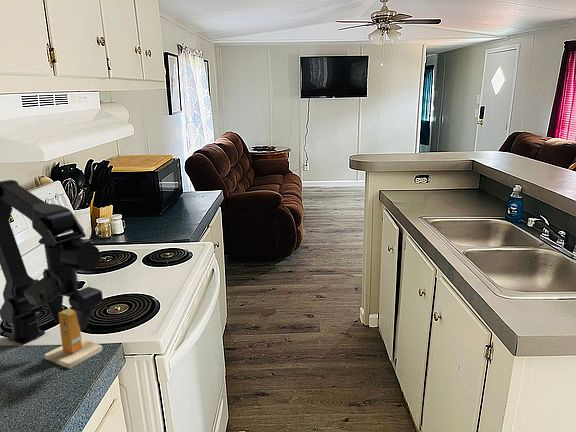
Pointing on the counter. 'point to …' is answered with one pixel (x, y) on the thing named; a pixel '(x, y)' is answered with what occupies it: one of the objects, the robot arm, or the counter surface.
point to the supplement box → (70, 331)
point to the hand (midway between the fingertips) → (70, 325)
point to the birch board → (75, 358)
